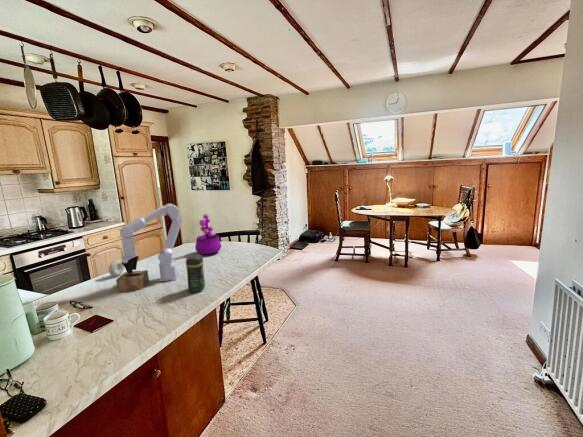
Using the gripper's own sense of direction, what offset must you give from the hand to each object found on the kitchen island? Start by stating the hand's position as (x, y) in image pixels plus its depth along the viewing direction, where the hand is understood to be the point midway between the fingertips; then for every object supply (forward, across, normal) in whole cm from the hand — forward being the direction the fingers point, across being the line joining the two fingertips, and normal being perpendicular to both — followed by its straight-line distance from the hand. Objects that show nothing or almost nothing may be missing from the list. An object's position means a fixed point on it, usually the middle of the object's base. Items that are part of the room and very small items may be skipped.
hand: (132, 271), depth 159 cm
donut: (+9, -19, -16) cm, 26 cm away
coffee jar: (+9, +13, +36) cm, 39 cm away
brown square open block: (+8, 0, 0) cm, 8 cm away
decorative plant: (+9, -55, +34) cm, 65 cm away
